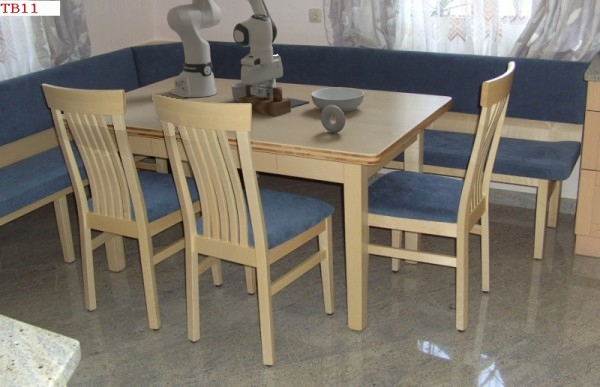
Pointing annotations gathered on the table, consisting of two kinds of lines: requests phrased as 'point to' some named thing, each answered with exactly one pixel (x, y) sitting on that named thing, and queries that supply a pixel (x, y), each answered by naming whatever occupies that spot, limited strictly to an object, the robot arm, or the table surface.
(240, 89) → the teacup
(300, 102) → the rubber mat
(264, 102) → the wooden peg stand
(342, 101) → the serving bowl
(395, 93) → the table surface
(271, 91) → the lever cap
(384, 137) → the table surface
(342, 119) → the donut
